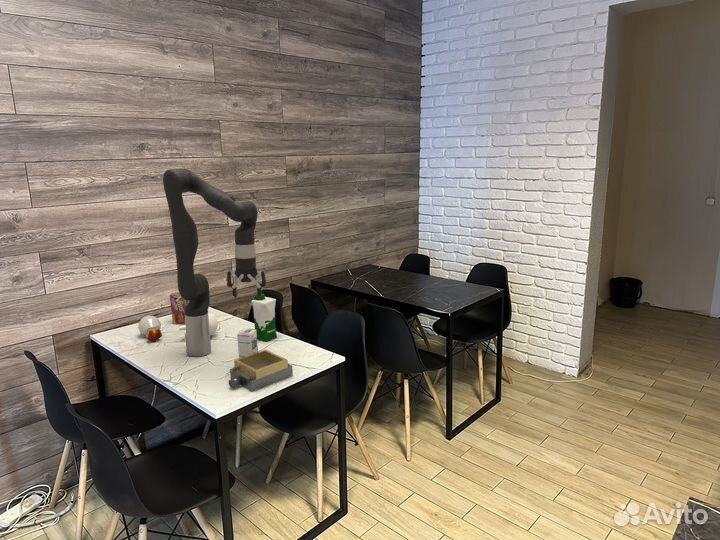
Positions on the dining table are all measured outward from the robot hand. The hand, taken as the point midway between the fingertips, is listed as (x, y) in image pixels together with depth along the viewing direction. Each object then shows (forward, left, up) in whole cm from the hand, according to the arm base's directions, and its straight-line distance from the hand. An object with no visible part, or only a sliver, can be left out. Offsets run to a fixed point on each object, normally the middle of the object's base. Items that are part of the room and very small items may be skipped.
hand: (247, 297), depth 190 cm
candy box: (-39, +52, -28) cm, 71 cm away
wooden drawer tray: (+4, -13, -28) cm, 31 cm away
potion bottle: (-48, +34, -28) cm, 65 cm away
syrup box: (-1, -1, -28) cm, 28 cm away
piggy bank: (-26, +34, -28) cm, 51 cm away
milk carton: (+3, +28, -28) cm, 40 cm away
